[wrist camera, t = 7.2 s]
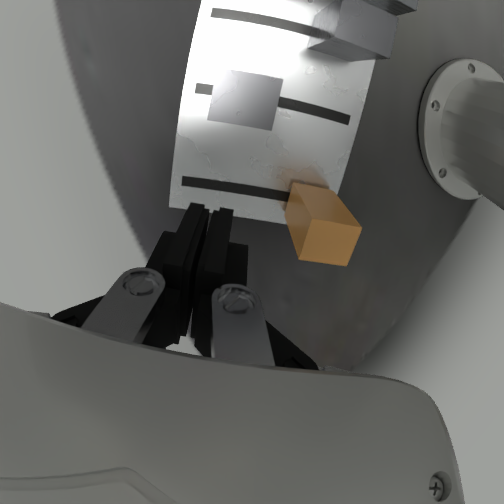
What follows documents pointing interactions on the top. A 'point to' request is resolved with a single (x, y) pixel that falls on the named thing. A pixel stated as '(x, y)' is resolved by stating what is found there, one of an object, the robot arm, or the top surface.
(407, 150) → the top surface
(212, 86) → the console
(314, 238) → the cap
